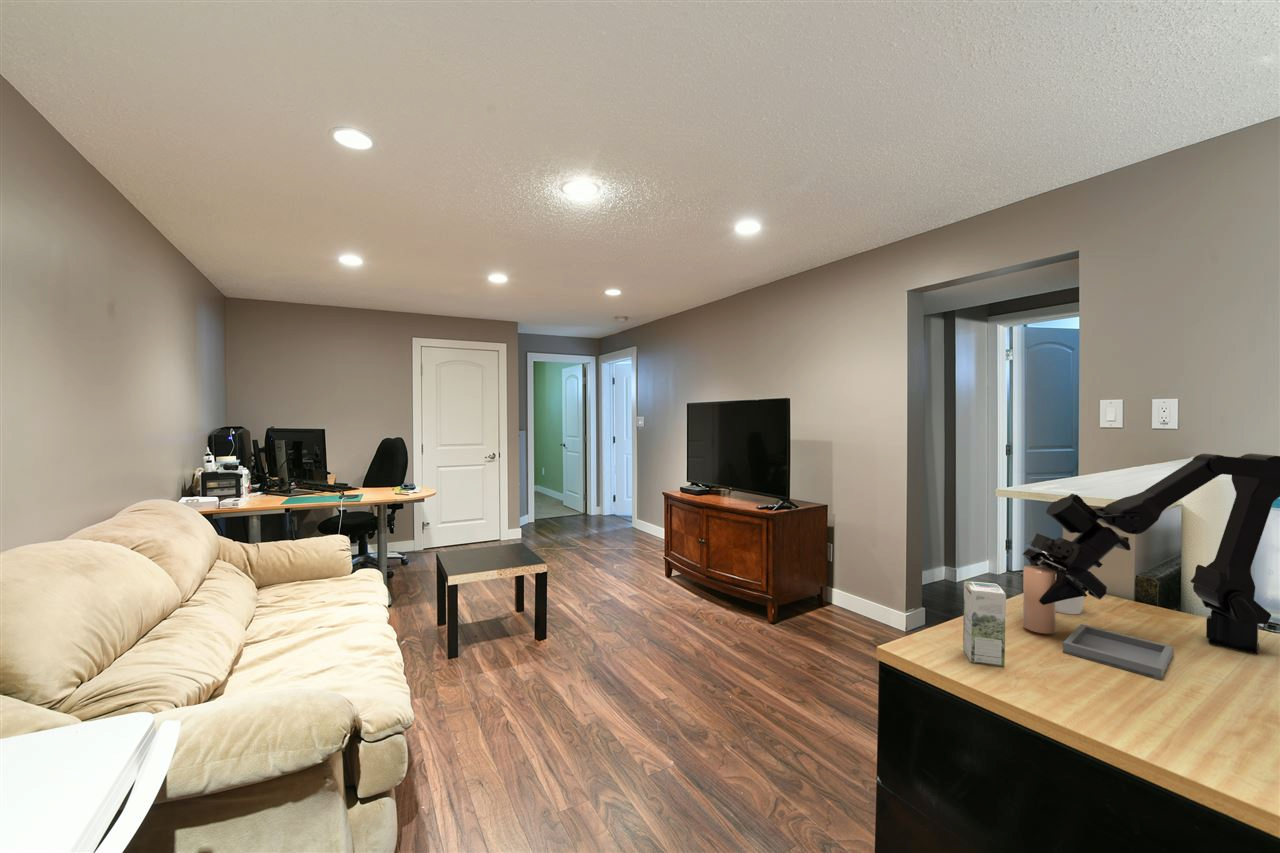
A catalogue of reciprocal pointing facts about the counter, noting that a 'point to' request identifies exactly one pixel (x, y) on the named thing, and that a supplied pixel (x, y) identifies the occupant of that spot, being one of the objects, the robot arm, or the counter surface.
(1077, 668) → the counter surface
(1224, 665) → the counter surface
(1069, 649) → the tray
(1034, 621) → the peach rounded cylinder
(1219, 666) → the counter surface
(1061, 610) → the foam cup
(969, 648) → the syrup box
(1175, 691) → the counter surface
